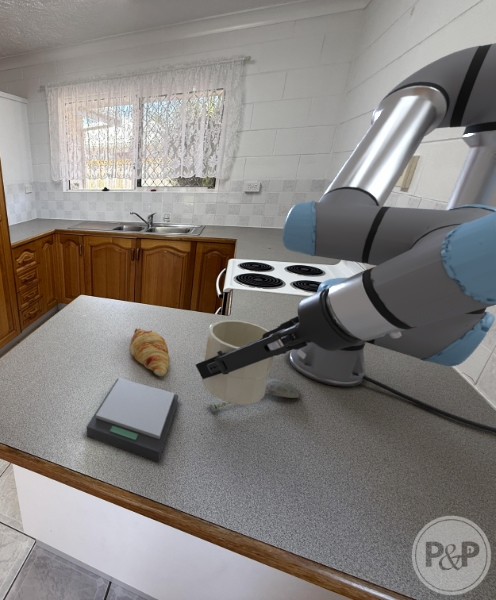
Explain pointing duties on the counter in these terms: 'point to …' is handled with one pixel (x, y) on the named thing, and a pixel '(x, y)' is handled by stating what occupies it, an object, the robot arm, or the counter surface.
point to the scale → (134, 418)
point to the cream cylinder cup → (245, 381)
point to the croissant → (150, 351)
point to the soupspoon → (270, 391)
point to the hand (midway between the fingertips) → (220, 360)
